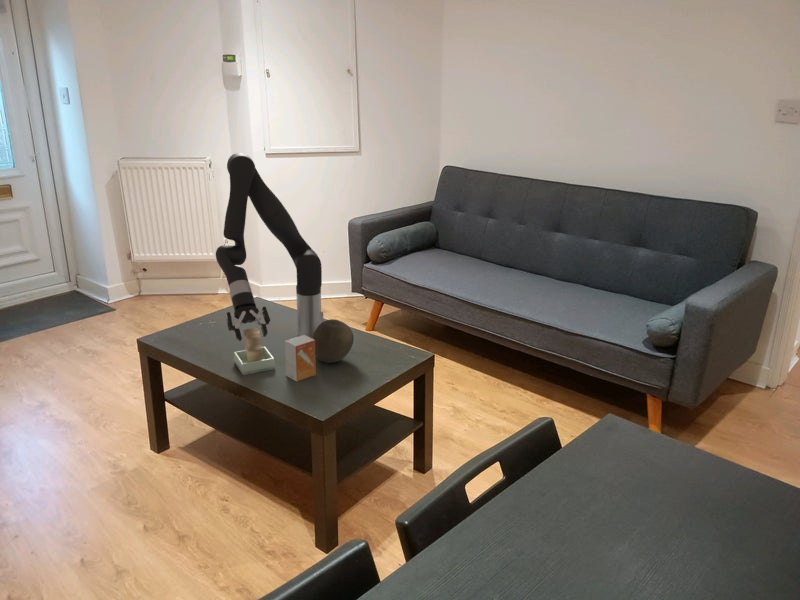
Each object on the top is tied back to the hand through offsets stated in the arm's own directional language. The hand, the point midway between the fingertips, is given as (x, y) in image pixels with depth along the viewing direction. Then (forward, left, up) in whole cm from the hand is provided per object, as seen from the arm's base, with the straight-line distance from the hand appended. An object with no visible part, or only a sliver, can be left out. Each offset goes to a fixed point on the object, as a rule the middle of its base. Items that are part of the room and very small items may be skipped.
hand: (253, 337), depth 228 cm
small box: (-12, +14, -11) cm, 21 cm away
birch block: (0, -1, -10) cm, 10 cm away
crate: (0, 0, -11) cm, 11 cm away
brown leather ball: (-26, +8, -11) cm, 29 cm away
